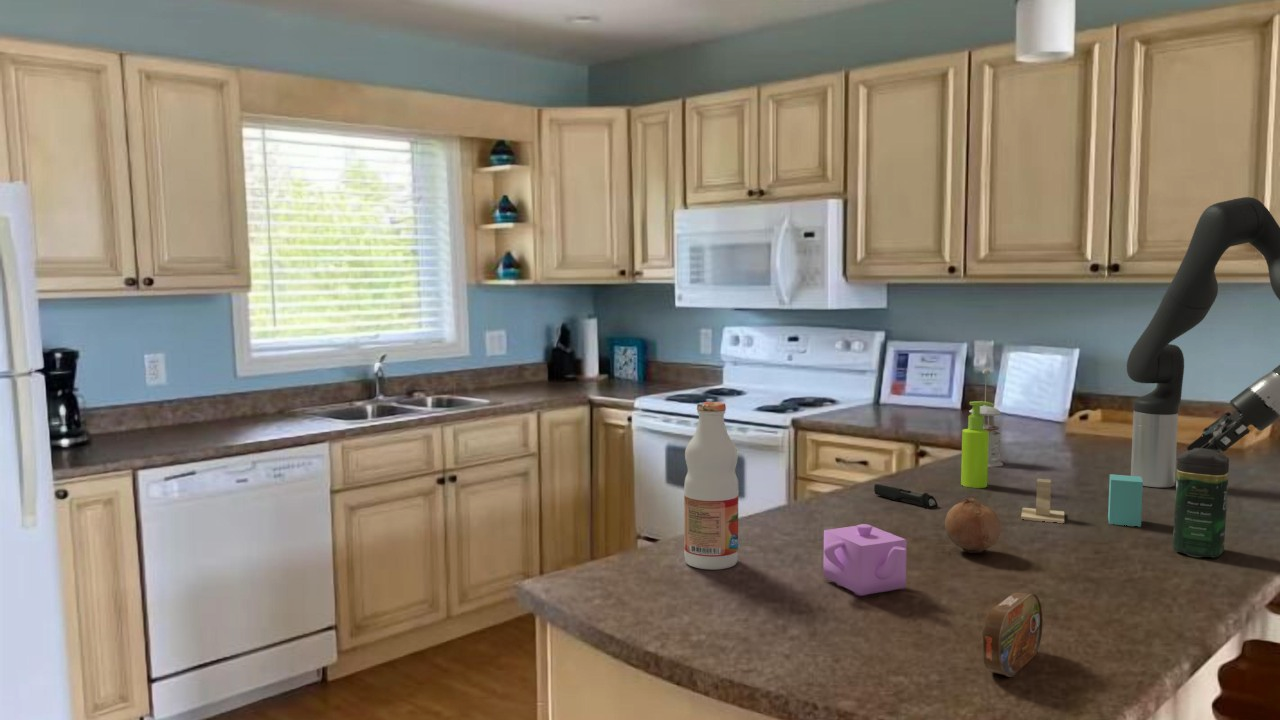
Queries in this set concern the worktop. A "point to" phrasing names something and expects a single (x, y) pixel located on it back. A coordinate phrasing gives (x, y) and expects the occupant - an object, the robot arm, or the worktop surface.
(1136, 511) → the teal tower prism
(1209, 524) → the coffee jar
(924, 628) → the worktop surface
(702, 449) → the fruit juice
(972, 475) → the soap dispenser
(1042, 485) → the post
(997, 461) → the french press
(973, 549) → the onion
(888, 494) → the electric trimmer
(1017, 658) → the tin
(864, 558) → the teapot
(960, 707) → the worktop surface
